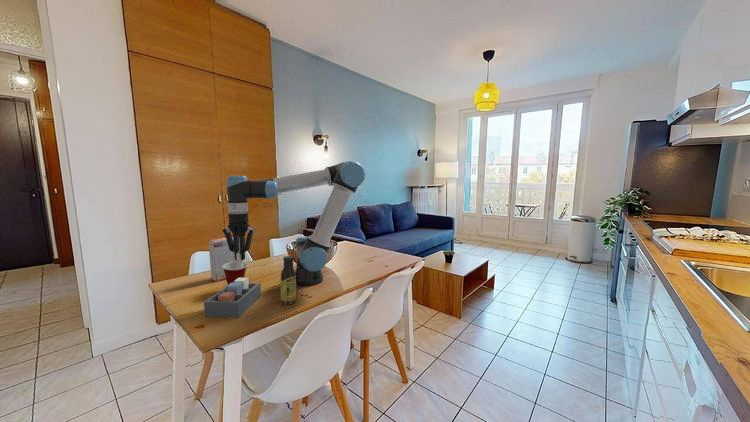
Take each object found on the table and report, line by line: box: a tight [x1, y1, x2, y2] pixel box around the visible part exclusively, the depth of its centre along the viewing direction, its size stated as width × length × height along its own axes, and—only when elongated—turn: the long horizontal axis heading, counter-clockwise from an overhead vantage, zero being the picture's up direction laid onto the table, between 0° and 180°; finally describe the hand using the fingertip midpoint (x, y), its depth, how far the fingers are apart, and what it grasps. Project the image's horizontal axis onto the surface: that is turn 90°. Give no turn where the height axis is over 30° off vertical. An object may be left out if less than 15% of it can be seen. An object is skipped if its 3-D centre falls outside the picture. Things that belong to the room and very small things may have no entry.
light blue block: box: [225, 283, 242, 294], centre depth 117 cm, size 4×4×5 cm
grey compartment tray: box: [203, 282, 262, 319], centre depth 118 cm, size 13×20×6 cm, turn 179°
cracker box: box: [208, 235, 240, 283], centre depth 150 cm, size 14×6×21 cm, turn 144°
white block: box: [234, 277, 250, 289], centre depth 123 cm, size 4×4×5 cm
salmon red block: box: [218, 292, 235, 301], centre depth 111 cm, size 4×4×5 cm
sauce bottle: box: [280, 255, 297, 306], centre depth 120 cm, size 6×6×20 cm
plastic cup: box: [222, 261, 249, 285], centre depth 134 cm, size 11×11×12 cm
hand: (240, 267), depth 122 cm, fingers closed
